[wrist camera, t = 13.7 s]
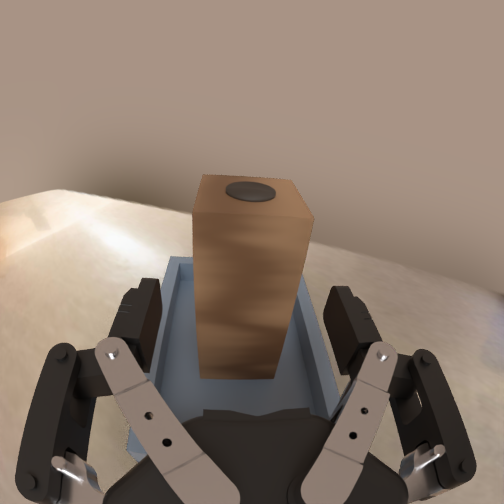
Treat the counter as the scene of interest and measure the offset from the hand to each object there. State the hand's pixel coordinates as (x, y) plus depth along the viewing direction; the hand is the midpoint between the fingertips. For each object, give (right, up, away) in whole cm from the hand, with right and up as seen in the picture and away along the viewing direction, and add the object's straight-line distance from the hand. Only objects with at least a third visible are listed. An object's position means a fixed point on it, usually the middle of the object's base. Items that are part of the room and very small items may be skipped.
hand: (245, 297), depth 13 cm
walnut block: (-1, -5, +7) cm, 9 cm away
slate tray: (-1, -6, +8) cm, 10 cm away
